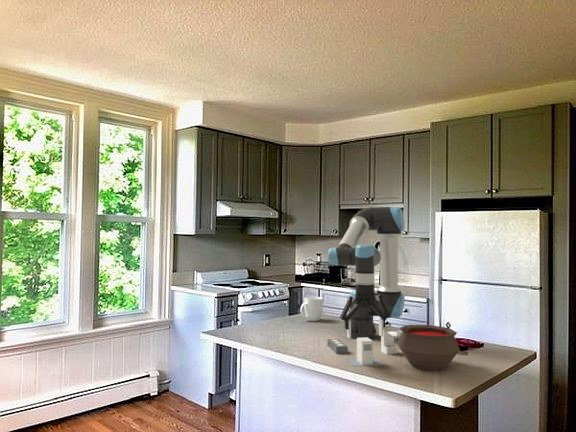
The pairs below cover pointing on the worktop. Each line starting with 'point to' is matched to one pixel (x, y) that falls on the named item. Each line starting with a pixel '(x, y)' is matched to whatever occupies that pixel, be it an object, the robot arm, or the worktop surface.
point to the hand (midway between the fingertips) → (365, 336)
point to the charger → (365, 350)
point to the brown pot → (428, 346)
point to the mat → (356, 363)
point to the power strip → (337, 346)
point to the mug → (312, 308)
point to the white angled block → (388, 344)
